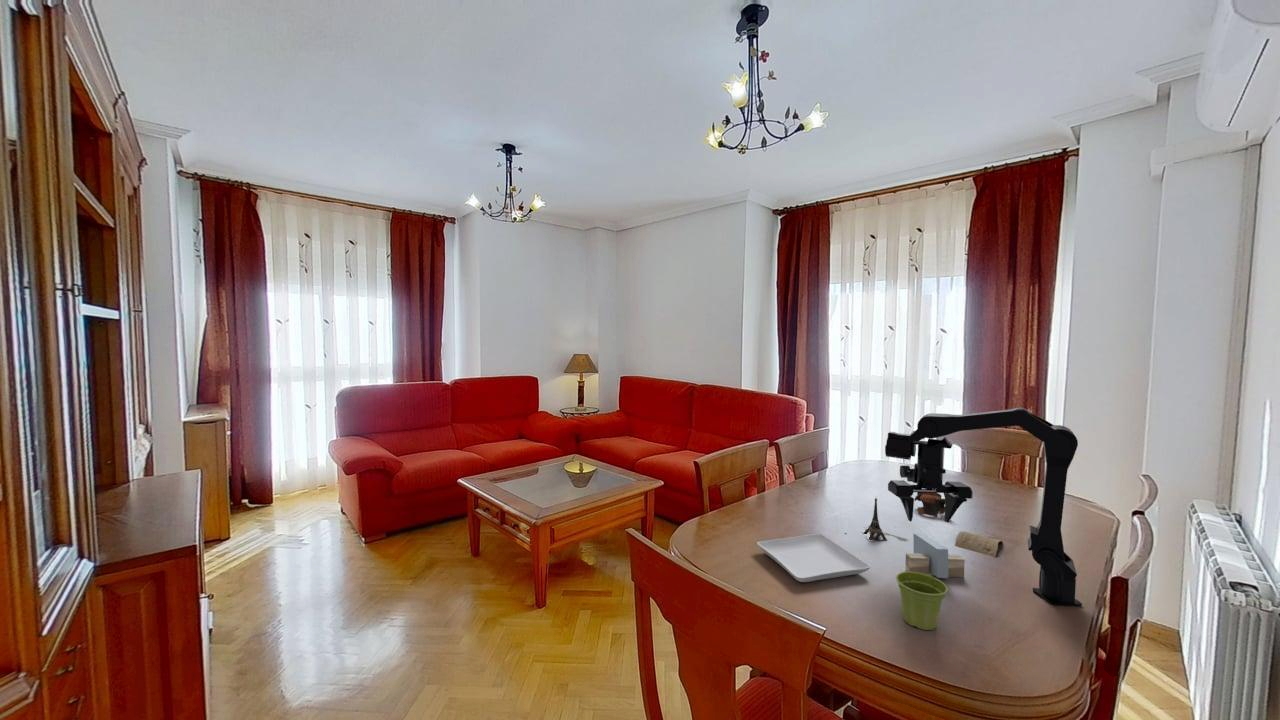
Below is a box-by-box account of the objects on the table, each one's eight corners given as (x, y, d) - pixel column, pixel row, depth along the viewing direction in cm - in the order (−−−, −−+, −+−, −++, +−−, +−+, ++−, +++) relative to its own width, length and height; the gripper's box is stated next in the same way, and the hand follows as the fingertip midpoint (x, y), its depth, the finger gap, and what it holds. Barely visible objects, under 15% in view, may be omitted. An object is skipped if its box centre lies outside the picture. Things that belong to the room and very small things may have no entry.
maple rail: (964, 577, 122) (964, 559, 122) (910, 575, 123) (910, 557, 123) (958, 572, 125) (958, 554, 124) (905, 570, 126) (905, 553, 125)
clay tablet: (996, 560, 132) (996, 550, 132) (952, 548, 139) (953, 539, 139) (1003, 543, 143) (1004, 534, 143) (963, 534, 150) (963, 525, 150)
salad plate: (798, 591, 116) (798, 577, 116) (754, 552, 137) (755, 540, 136) (872, 579, 122) (873, 566, 121) (820, 544, 142) (820, 532, 142)
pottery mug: (908, 513, 167) (908, 489, 170) (923, 520, 171) (923, 497, 175) (945, 514, 157) (945, 489, 161) (960, 522, 161) (959, 498, 165)
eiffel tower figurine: (909, 541, 144) (910, 497, 143) (895, 551, 138) (897, 505, 137) (859, 526, 155) (859, 485, 155) (843, 535, 149) (844, 492, 148)
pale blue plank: (948, 578, 120) (948, 549, 120) (937, 577, 120) (937, 549, 120) (923, 559, 132) (923, 533, 132) (913, 558, 132) (913, 532, 132)
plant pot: (927, 609, 108) (928, 571, 107) (956, 635, 98) (958, 593, 98) (886, 610, 108) (887, 571, 107) (911, 636, 98) (912, 594, 98)
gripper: (950, 455, 134) (948, 511, 135) (880, 454, 135) (878, 509, 136) (975, 466, 123) (972, 527, 124) (898, 465, 124) (896, 525, 125)
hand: (928, 521), depth 127 cm, fingers open, 9 cm apart
